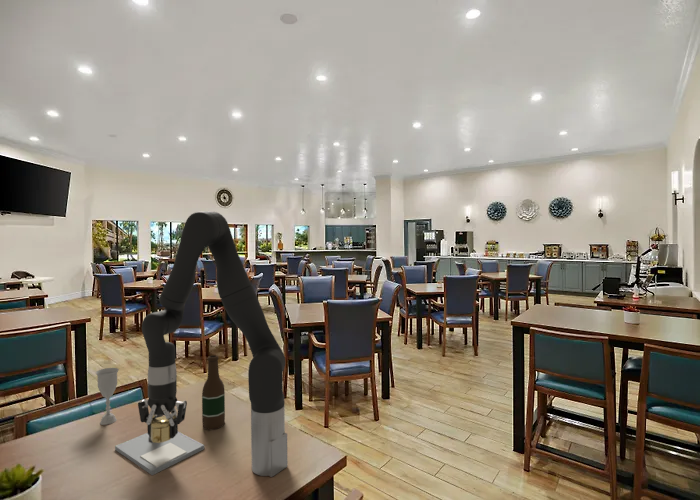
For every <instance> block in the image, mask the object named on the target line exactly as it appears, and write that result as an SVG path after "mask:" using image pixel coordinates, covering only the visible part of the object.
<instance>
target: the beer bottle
mask: <svg viewBox="0 0 700 500" xmlns="http://www.w3.org/2000/svg"><path fill="white" fill-rule="evenodd" d="M219 359H220V358H219V355H218V354H217V355H216V354H211V355H209V356H208V357H207V361H208V365H207V378H206V381H205V382H204V385H203V387H202V392H201V406H202V407H201V408H202V409H201V410H202V411H201V415H202V416H201V417H202V418H201V419H202V428H203V429H205V430H208V431H210V430H218V429H220V428H221V427H223V426H224V425H225V420H226V418H225V417H226V409H225V408H226V399H225V395H226V394H225V393H226V391H225V390H226V389H225V385H224V382H223V380H222V379H221V378H220V372H219V371H220V370H219V362H218V361H219Z"/></svg>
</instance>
